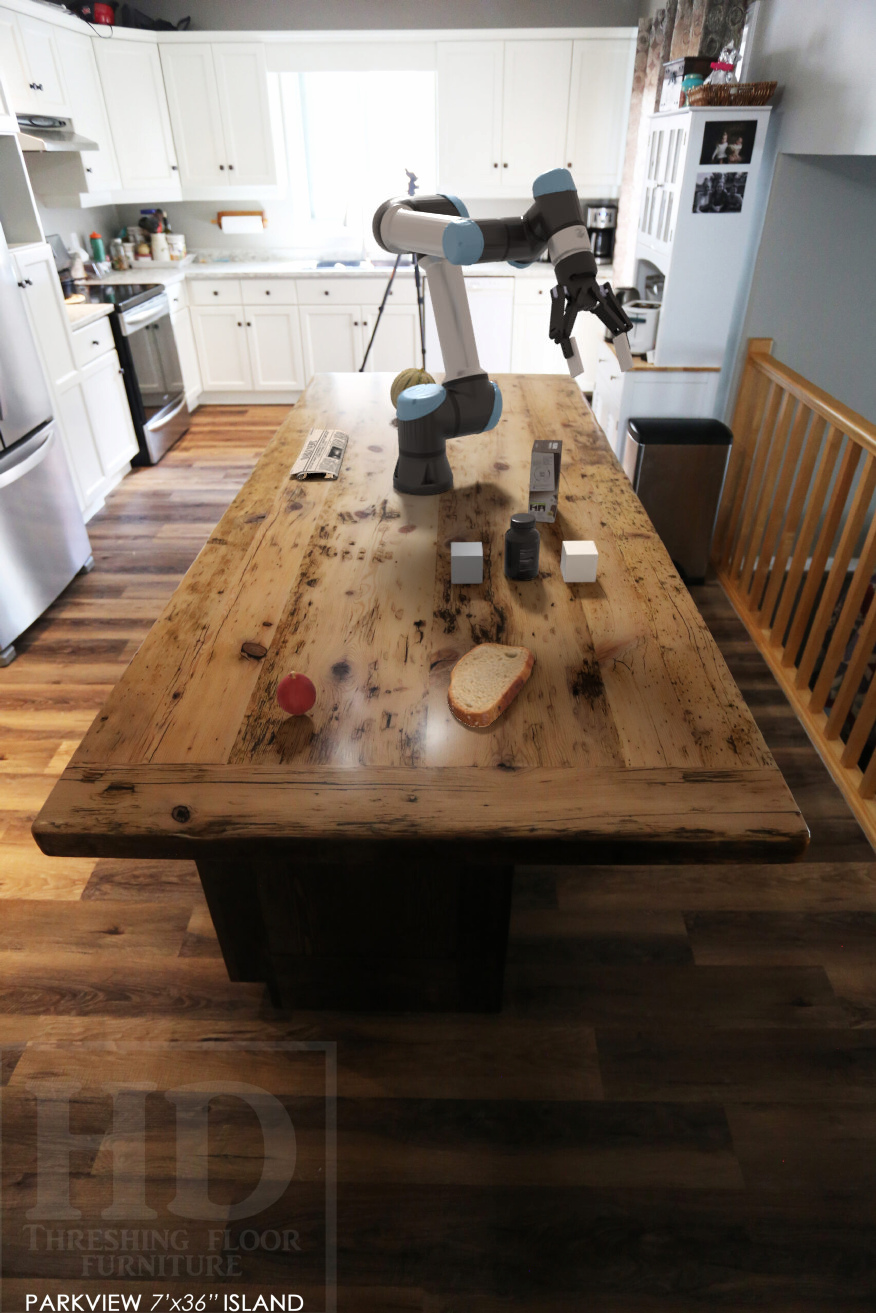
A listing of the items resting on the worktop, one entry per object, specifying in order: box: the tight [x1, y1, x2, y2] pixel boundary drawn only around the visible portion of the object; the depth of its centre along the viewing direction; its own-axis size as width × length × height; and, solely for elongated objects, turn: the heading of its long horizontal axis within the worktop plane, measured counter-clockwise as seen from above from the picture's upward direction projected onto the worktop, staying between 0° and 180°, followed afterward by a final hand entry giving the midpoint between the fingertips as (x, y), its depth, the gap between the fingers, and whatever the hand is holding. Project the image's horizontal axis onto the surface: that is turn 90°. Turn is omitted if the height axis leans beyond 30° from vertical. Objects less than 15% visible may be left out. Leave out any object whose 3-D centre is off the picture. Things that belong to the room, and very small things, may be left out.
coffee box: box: [527, 439, 563, 524], centre depth 170 cm, size 9×6×16 cm
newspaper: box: [289, 426, 350, 480], centre depth 209 cm, size 35×12×4 cm, turn 1°
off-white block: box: [559, 540, 599, 583], centre depth 148 cm, size 6×6×6 cm
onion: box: [276, 671, 317, 717], centre depth 112 cm, size 6×6×8 cm
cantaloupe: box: [389, 366, 437, 411], centre depth 235 cm, size 15×15×15 cm
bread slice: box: [446, 642, 535, 727], centre depth 119 cm, size 18×18×4 cm
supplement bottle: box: [503, 512, 541, 582], centre depth 147 cm, size 7×7×12 cm
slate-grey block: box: [450, 541, 484, 585], centre depth 149 cm, size 6×6×6 cm
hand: (603, 372), depth 142 cm, fingers open, 13 cm apart
